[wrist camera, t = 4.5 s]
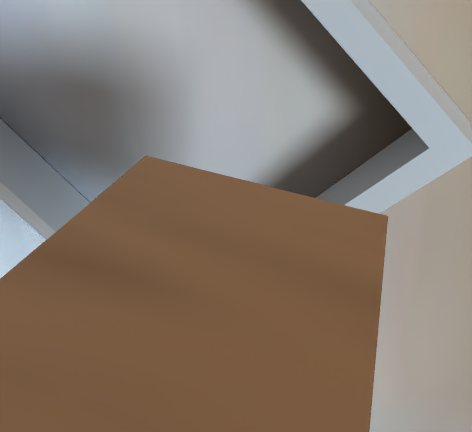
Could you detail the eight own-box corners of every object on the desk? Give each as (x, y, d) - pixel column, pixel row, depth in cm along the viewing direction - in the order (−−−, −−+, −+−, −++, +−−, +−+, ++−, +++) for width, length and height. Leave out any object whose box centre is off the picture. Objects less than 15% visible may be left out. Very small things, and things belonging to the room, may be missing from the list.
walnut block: (315, 422, 12) (252, 741, 7) (152, 363, 13) (5, 609, 8) (387, 216, 8) (353, 620, 3) (146, 156, 9) (-140, 397, 4)
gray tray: (468, 120, 16) (478, 152, 14) (186, 309, 26) (164, 346, 24) (-30, -475, 12) (-136, -574, 10) (-129, 15, 23) (-193, 24, 20)
